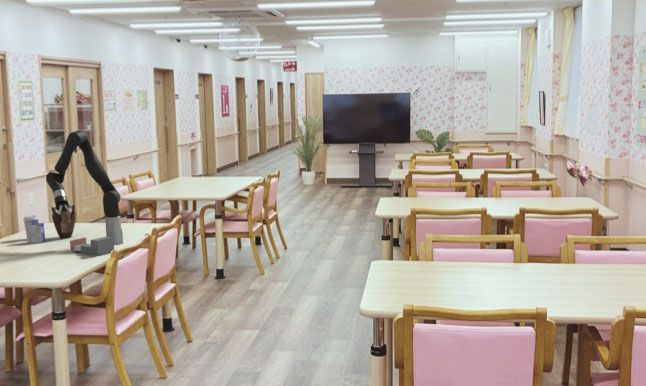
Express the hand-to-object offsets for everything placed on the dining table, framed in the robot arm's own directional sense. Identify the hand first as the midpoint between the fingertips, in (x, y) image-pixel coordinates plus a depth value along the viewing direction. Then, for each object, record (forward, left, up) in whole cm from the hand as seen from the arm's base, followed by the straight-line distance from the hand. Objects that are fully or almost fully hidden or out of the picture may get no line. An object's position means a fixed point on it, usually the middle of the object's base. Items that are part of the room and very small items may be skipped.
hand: (66, 220), depth 439 cm
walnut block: (0, -1, -7) cm, 7 cm away
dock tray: (-6, +12, -17) cm, 22 cm away
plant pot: (-7, -40, -18) cm, 45 cm away
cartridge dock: (-12, +23, -18) cm, 31 cm away
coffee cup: (+12, -49, -18) cm, 54 cm away
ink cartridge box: (+12, -35, -18) cm, 41 cm away
